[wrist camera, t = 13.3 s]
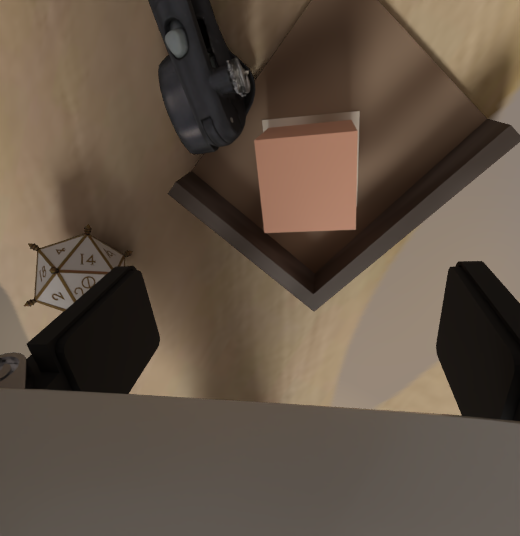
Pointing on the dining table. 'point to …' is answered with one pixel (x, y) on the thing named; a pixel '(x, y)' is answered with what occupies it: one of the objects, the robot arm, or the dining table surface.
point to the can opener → (201, 77)
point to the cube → (308, 177)
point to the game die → (72, 269)
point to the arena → (368, 145)
